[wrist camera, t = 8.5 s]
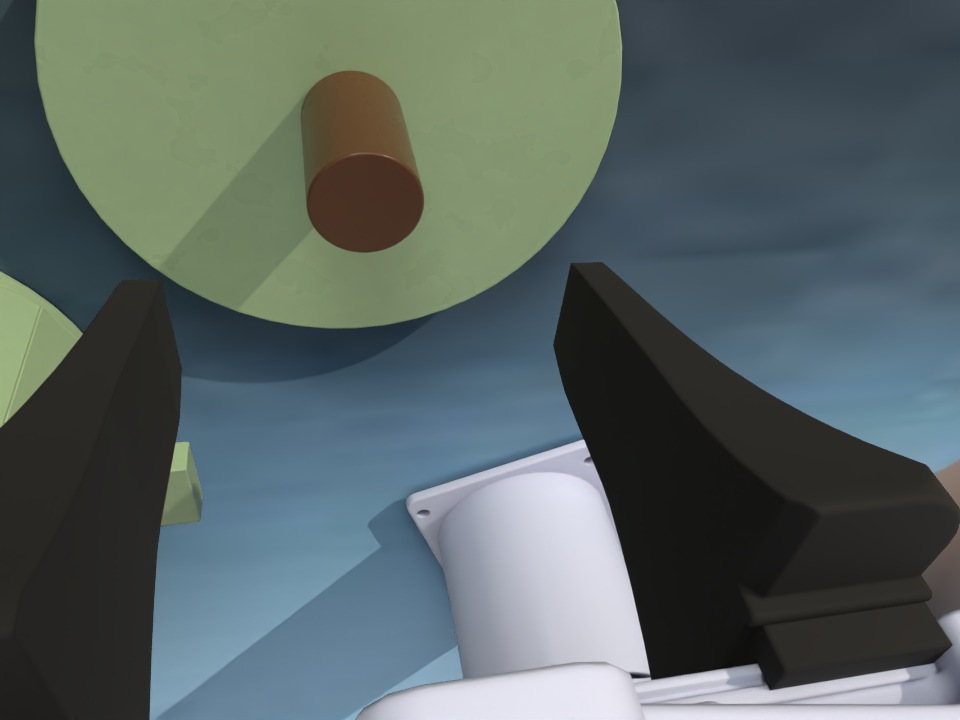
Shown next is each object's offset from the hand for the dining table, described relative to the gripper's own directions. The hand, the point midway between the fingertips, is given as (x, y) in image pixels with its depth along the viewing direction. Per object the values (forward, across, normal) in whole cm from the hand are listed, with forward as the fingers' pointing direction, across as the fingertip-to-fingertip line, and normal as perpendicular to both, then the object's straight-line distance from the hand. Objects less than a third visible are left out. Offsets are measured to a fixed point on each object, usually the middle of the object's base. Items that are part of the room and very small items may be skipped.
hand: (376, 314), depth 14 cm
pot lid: (+7, 0, 0) cm, 7 cm away
